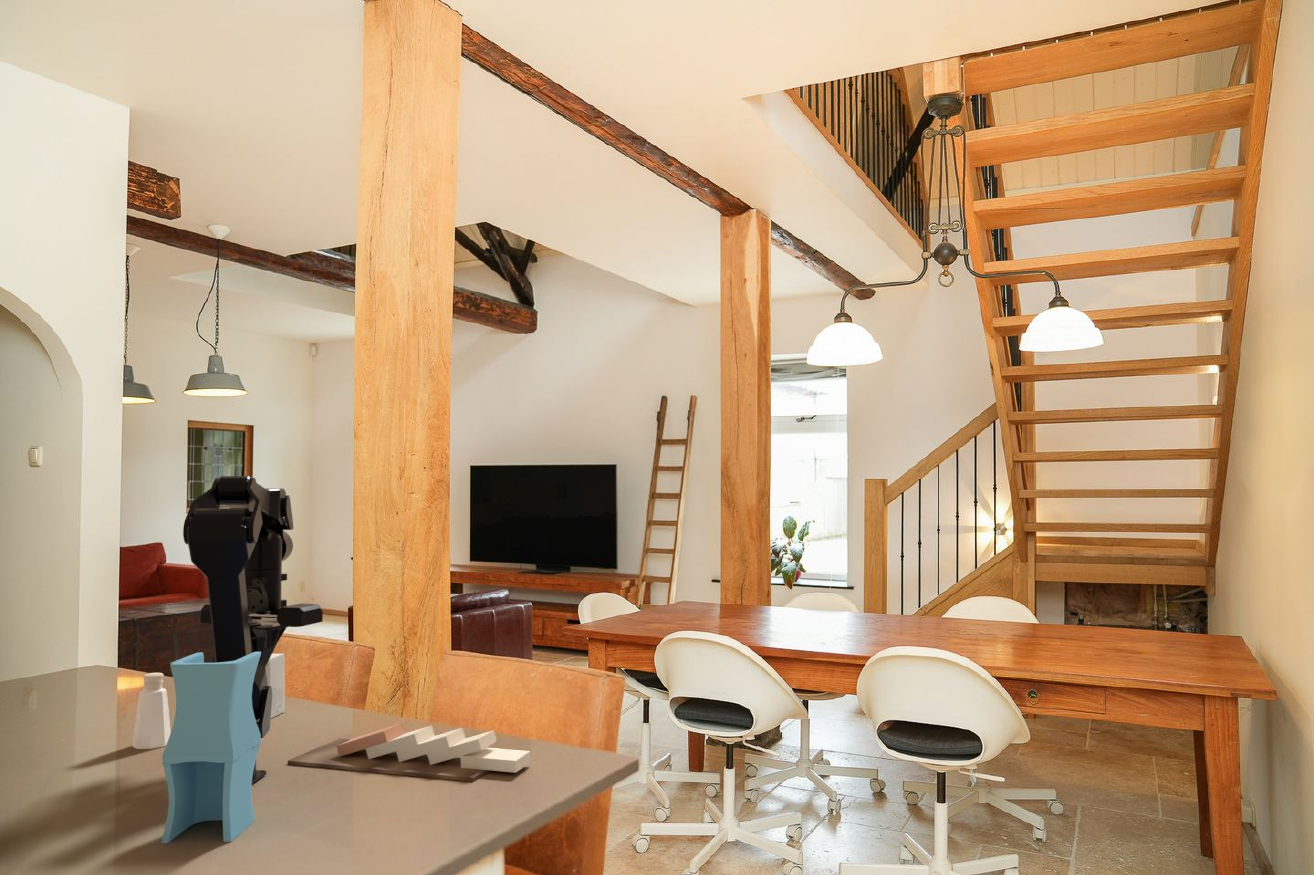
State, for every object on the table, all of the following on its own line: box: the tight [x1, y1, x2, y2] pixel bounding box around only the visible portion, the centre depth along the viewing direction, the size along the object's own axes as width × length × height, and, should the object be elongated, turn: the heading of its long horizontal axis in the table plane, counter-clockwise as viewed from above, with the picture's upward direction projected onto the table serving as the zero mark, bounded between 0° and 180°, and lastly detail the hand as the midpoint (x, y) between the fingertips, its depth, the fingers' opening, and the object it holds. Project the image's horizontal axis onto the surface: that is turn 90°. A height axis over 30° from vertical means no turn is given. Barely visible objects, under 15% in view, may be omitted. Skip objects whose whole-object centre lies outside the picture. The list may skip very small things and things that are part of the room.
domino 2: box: [396, 727, 466, 762], centre depth 132 cm, size 2×5×8 cm
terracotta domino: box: [336, 722, 406, 757], centre depth 135 cm, size 2×5×8 cm
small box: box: [266, 653, 286, 719], centre depth 160 cm, size 8×6×10 cm
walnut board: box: [287, 737, 491, 782], centre depth 133 cm, size 30×12×1 cm, turn 73°
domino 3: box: [427, 729, 497, 765], centre depth 130 cm, size 2×5×8 cm
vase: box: [160, 652, 262, 844], centre depth 107 cm, size 8×8×20 cm
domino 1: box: [366, 725, 436, 759], centre depth 133 cm, size 2×5×8 cm
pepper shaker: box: [131, 672, 172, 750], centre depth 142 cm, size 5×5×11 cm
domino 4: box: [461, 747, 531, 774], centre depth 129 cm, size 2×5×8 cm
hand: (260, 669), depth 140 cm, fingers closed
